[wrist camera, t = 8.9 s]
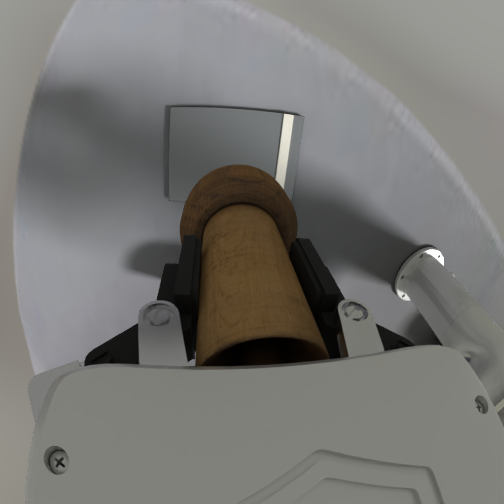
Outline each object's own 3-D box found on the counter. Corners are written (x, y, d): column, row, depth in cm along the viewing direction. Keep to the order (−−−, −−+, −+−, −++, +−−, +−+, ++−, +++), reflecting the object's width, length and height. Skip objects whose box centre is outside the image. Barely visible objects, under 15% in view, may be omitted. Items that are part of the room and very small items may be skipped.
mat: (302, 116, 31) (304, 116, 30) (289, 203, 37) (291, 205, 36) (171, 107, 28) (170, 107, 27) (170, 198, 34) (168, 201, 34)
